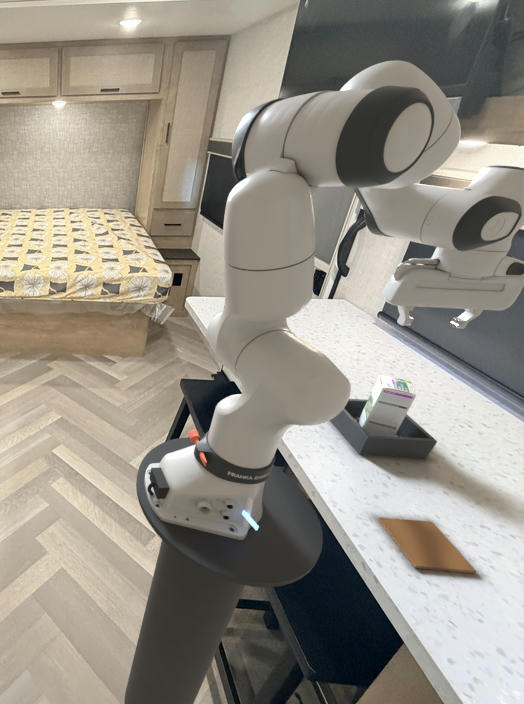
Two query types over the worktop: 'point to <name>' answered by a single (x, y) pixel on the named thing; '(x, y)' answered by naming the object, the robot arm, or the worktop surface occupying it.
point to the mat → (425, 545)
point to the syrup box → (387, 406)
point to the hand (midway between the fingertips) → (429, 325)
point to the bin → (407, 445)
